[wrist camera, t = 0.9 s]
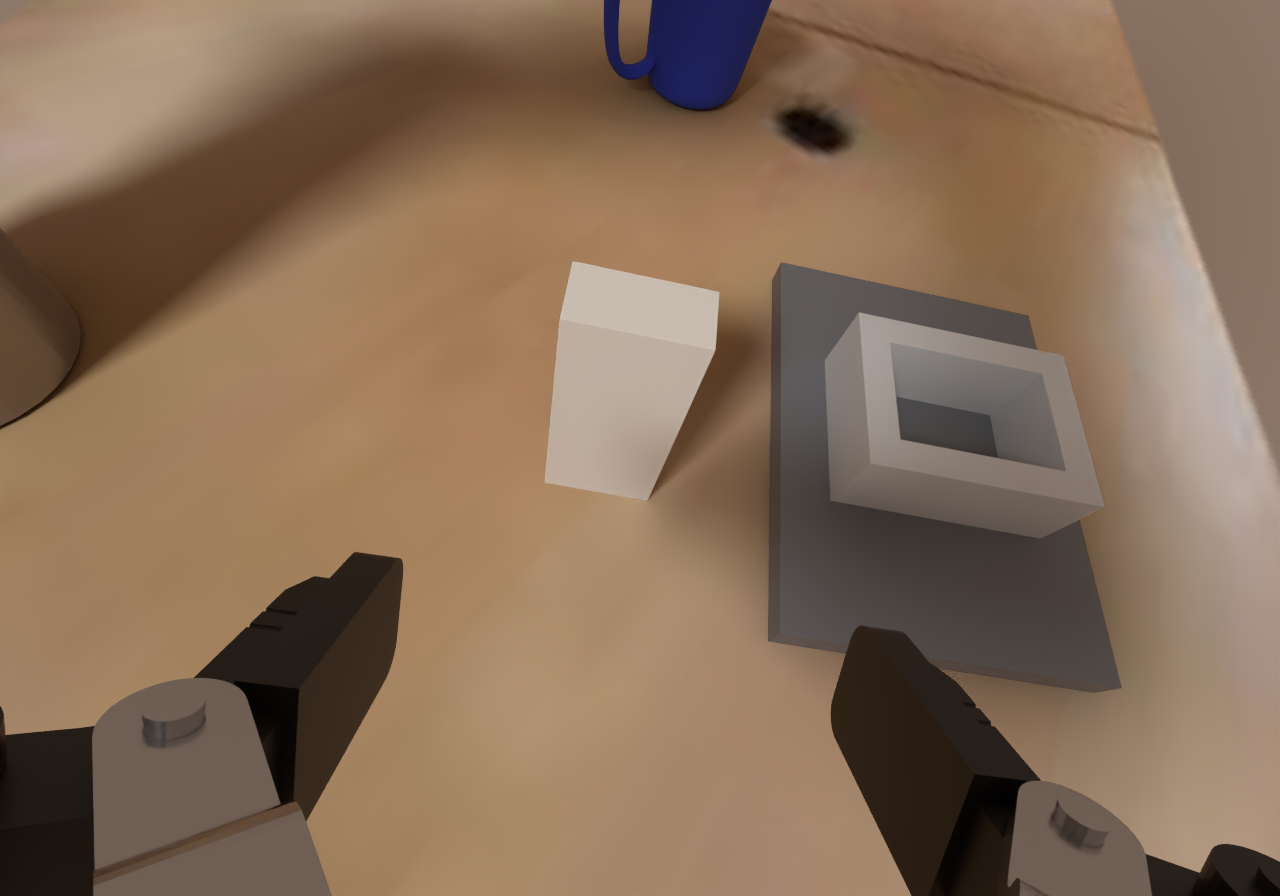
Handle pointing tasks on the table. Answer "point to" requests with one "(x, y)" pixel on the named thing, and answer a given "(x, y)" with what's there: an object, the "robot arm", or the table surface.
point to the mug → (691, 47)
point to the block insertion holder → (929, 484)
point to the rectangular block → (625, 377)
